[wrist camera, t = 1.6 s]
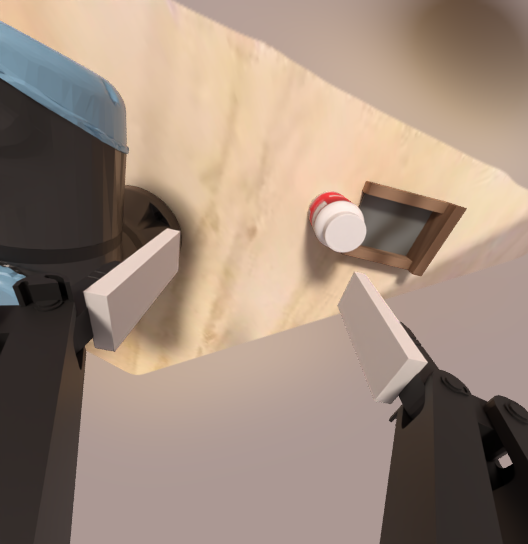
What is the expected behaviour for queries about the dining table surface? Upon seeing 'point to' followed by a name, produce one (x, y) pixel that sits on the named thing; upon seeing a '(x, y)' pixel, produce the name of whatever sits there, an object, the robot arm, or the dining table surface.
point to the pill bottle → (337, 221)
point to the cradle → (404, 227)
